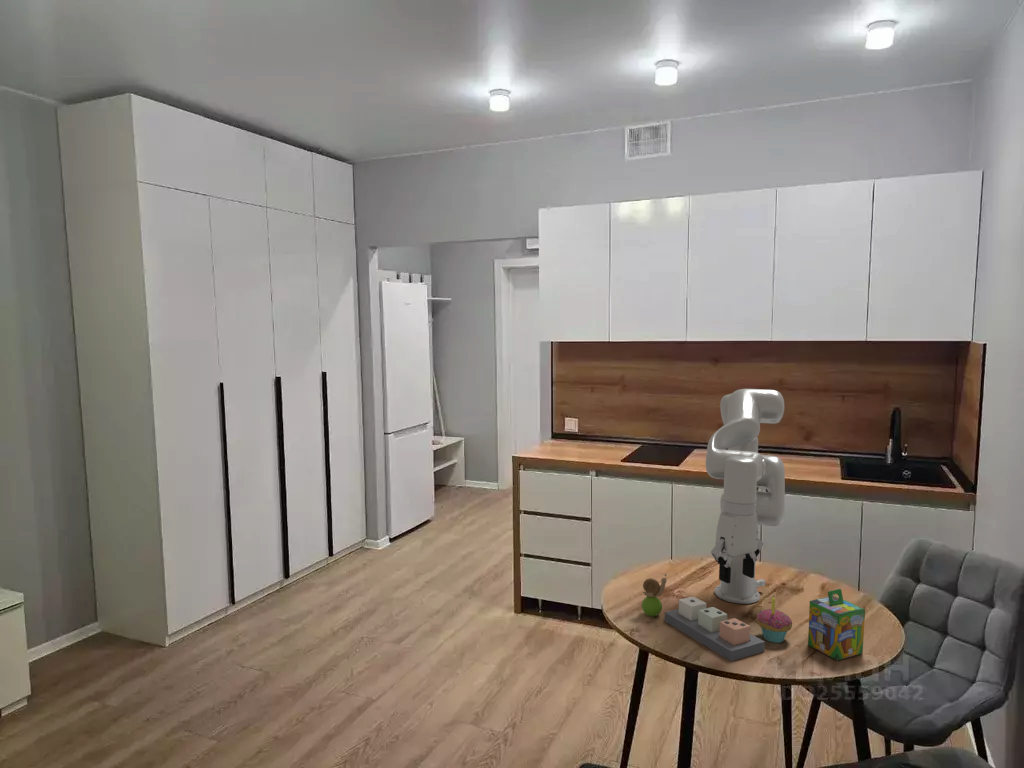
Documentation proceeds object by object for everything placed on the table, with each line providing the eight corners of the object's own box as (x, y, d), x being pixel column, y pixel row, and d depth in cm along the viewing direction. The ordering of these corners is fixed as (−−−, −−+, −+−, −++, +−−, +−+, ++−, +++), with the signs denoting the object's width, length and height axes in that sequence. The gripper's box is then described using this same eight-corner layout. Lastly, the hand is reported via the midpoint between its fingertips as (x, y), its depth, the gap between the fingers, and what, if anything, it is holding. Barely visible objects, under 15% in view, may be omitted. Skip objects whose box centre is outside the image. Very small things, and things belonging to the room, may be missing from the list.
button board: (664, 621, 179) (664, 612, 179) (695, 613, 184) (696, 604, 184) (731, 661, 158) (731, 651, 158) (764, 651, 163) (764, 641, 163)
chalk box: (837, 662, 158) (840, 601, 157) (806, 644, 167) (808, 587, 165) (864, 654, 162) (867, 595, 161) (832, 638, 170) (835, 582, 169)
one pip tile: (678, 613, 179) (678, 598, 178) (692, 610, 181) (693, 595, 180) (691, 621, 174) (691, 605, 174) (705, 617, 176) (706, 602, 176)
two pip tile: (698, 625, 172) (698, 609, 172) (712, 621, 174) (713, 605, 174) (712, 633, 167) (712, 617, 167) (726, 629, 170) (727, 613, 169)
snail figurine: (665, 621, 179) (667, 577, 178) (641, 618, 180) (642, 575, 179) (665, 612, 185) (666, 570, 183) (641, 610, 186) (642, 568, 185)
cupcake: (787, 649, 164) (790, 602, 163) (752, 640, 168) (753, 594, 167) (793, 635, 171) (796, 590, 170) (759, 627, 176) (761, 583, 175)
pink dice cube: (719, 637, 165) (719, 621, 165) (734, 633, 168) (734, 617, 167) (734, 646, 161) (735, 629, 160) (749, 641, 163) (750, 625, 163)
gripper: (753, 500, 169) (750, 568, 170) (700, 508, 161) (698, 579, 162) (777, 507, 162) (774, 578, 163) (723, 516, 154) (721, 590, 156)
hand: (736, 578), depth 163 cm, fingers open, 7 cm apart
